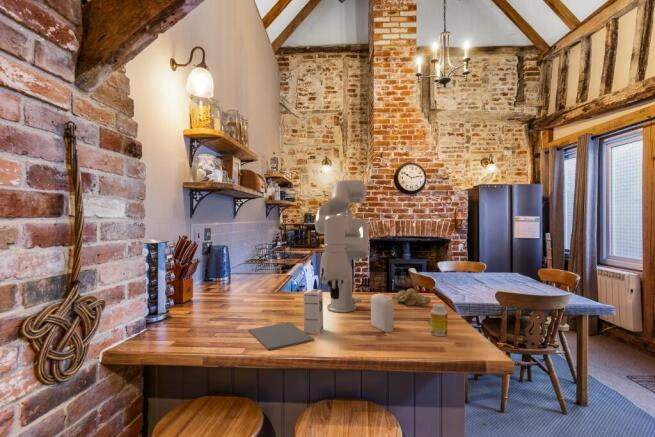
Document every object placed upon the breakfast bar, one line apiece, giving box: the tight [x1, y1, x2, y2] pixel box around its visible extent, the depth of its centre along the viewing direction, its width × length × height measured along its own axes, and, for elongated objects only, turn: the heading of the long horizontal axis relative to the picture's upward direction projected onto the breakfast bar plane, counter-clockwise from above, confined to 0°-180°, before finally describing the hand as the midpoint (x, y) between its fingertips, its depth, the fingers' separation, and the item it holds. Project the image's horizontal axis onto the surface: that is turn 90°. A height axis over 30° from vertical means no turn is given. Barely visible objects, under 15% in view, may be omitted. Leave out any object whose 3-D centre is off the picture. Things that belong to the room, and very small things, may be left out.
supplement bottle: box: [430, 303, 448, 337], centre depth 118 cm, size 6×6×10 cm
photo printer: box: [370, 293, 395, 333], centre depth 125 cm, size 10×4×12 cm, turn 26°
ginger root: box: [391, 287, 432, 307], centre depth 159 cm, size 16×16×8 cm
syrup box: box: [303, 288, 324, 335], centre depth 122 cm, size 6×6×14 cm
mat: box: [248, 321, 315, 351], centre depth 117 cm, size 16×20×1 cm
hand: (334, 298), depth 126 cm, fingers closed
